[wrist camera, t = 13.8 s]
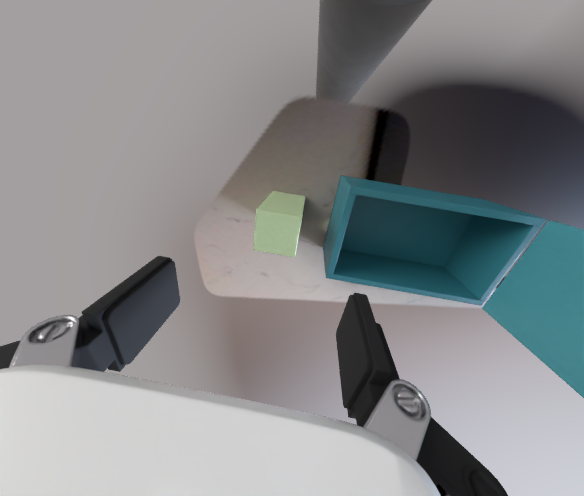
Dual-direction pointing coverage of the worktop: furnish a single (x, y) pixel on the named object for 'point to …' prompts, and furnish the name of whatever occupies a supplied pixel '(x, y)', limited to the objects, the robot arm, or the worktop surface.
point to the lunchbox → (423, 240)
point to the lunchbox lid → (547, 301)
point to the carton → (279, 223)
